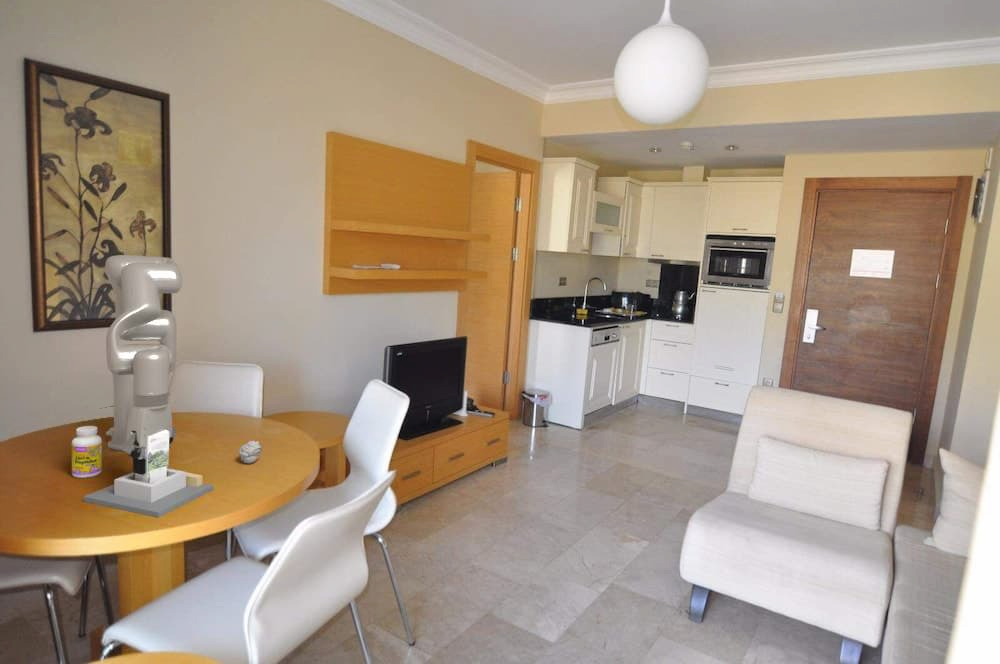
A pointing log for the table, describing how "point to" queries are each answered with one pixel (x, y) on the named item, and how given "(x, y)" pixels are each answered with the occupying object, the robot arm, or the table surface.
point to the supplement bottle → (86, 452)
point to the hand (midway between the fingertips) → (151, 468)
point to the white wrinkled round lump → (250, 452)
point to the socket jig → (151, 493)
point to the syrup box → (155, 458)
